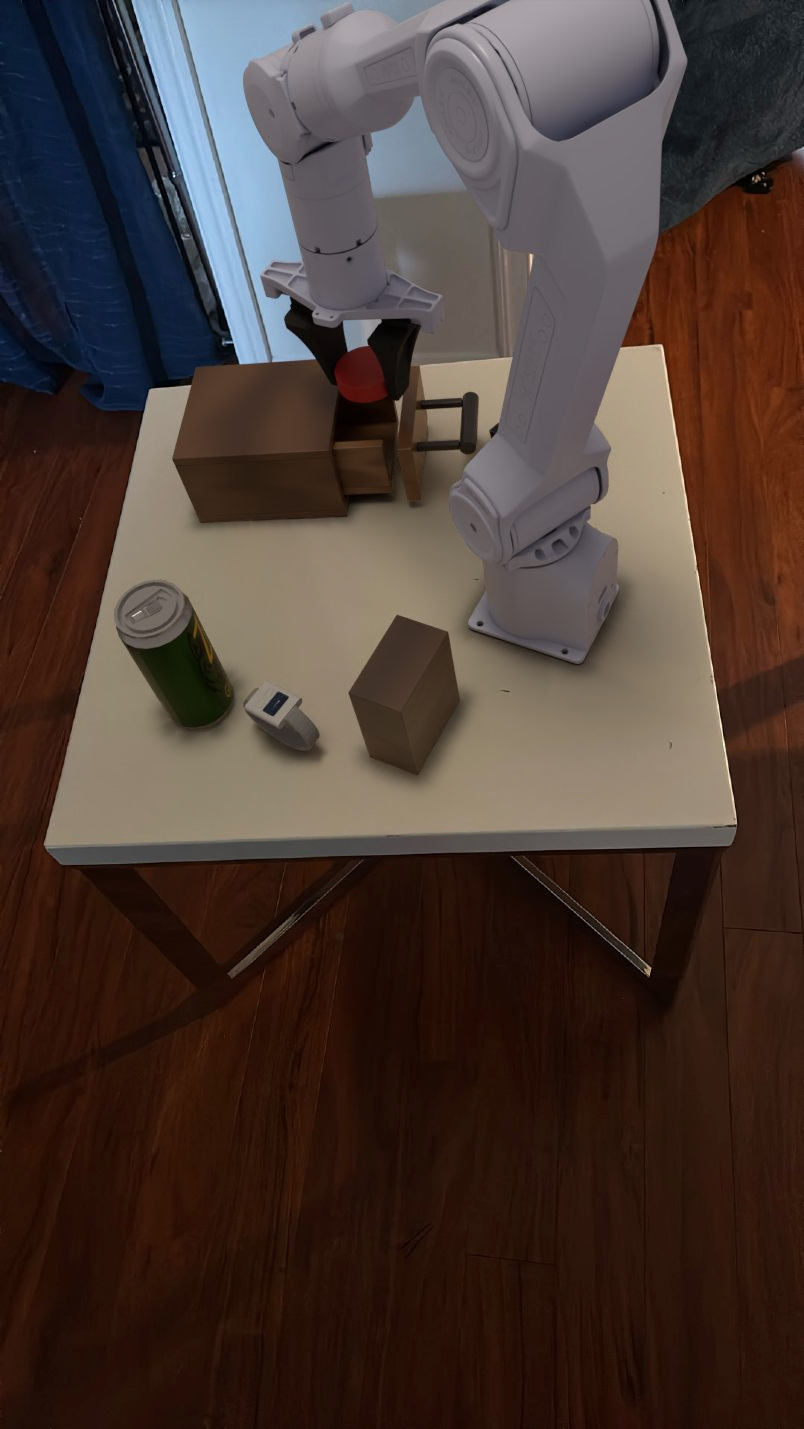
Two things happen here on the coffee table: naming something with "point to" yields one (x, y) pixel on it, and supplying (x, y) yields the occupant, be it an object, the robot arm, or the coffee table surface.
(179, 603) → the beer can
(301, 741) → the wristwatch
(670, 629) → the coffee table surface
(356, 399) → the lid
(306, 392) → the cabinet
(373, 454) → the drawer
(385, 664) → the stand
